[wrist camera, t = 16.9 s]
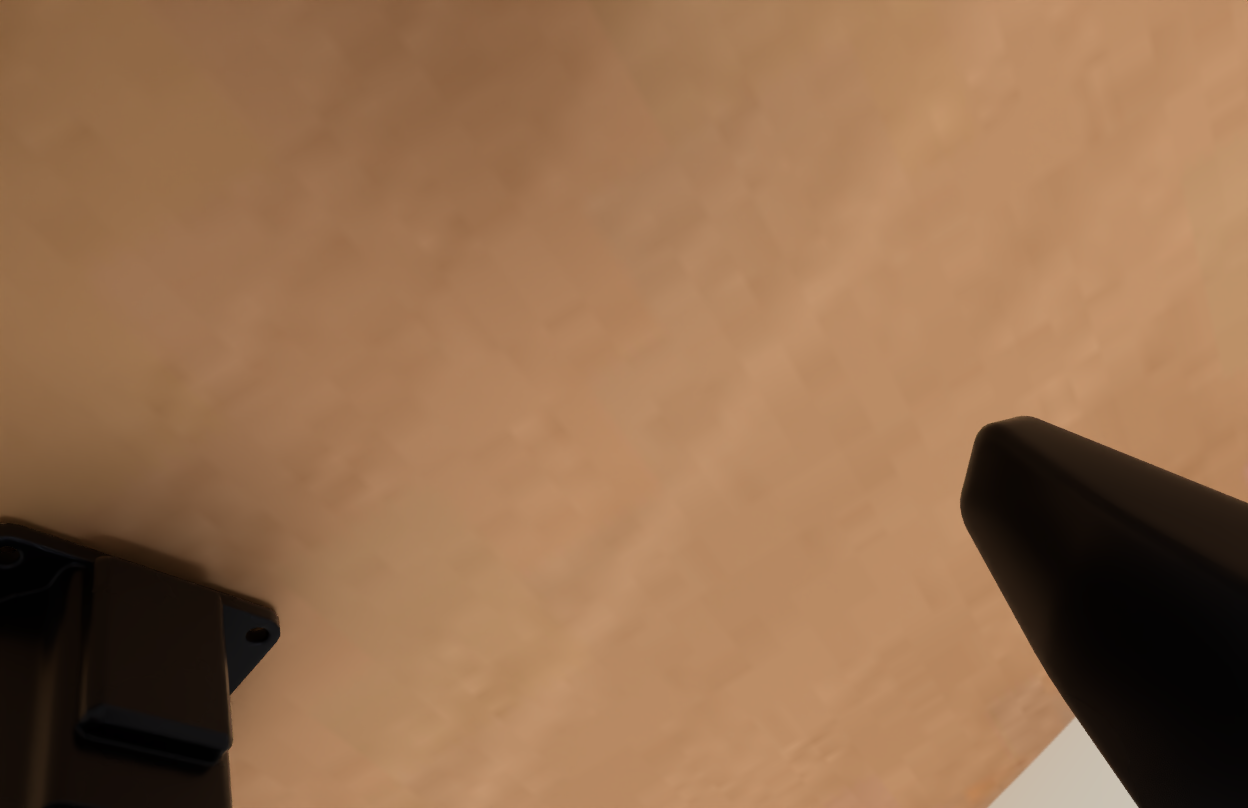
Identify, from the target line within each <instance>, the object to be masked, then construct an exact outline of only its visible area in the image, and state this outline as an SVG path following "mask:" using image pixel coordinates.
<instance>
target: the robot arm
mask: <svg viewBox="0 0 1248 808" xmlns="http://www.w3.org/2000/svg"><path fill="white" fill-rule="evenodd" d="M960 508H961V514H962V518H963V521H964V524H965V526H966V528H967V530H968V532H969V534H970V536H971V537H972V539H973V541H974V543H975V545H976V547H977V548H978V550H979V552H980V554H981V556H982V557H983V559H984V561H985V563H986V565H987V567H988V568H989V570H990V572H991V574H992V576H993V577H994V579H995V581H996V583H997V585H998V587H999V588H1000V590H1001V592H1002V594H1003V596H1004V597H1005V599H1006V601H1007V603H1008V605H1009V607H1010V608H1011V610H1012V612H1013V614H1014V616H1015V618H1016V619H1017V621H1018V623H1019V625H1020V627H1021V628H1022V630H1023V632H1024V634H1025V636H1026V638H1027V639H1028V641H1029V643H1030V645H1031V647H1032V648H1033V650H1034V652H1035V654H1036V655H1037V657H1038V659H1039V660H1040V662H1041V664H1042V666H1043V667H1044V669H1045V671H1046V672H1047V674H1048V676H1049V677H1050V679H1051V680H1052V682H1053V683H1054V685H1055V686H1056V688H1057V689H1058V691H1059V693H1060V694H1061V696H1062V697H1063V699H1064V700H1065V702H1066V703H1067V705H1068V706H1069V707H1070V709H1071V710H1072V712H1073V713H1074V715H1075V716H1076V718H1077V719H1078V720H1079V722H1080V723H1081V725H1082V726H1083V728H1084V729H1085V731H1086V732H1087V734H1088V735H1089V736H1090V738H1091V739H1092V741H1093V742H1094V743H1095V745H1096V746H1097V748H1098V749H1099V751H1100V752H1101V754H1102V755H1103V757H1104V758H1105V760H1106V761H1107V762H1108V764H1109V765H1110V767H1111V768H1112V770H1113V771H1114V773H1115V774H1116V775H1117V777H1118V778H1119V780H1120V781H1121V783H1122V784H1123V785H1124V787H1125V789H1126V790H1127V791H1128V793H1129V794H1130V796H1131V797H1132V799H1133V800H1134V802H1135V803H1136V804H1137V806H1138V807H1139V808H1248V503H1246V502H1244V501H1241V500H1239V499H1236V498H1234V497H1231V496H1229V495H1226V494H1224V493H1221V492H1219V491H1216V490H1214V489H1211V488H1209V487H1206V486H1204V485H1201V484H1199V483H1196V482H1194V481H1191V480H1189V479H1186V478H1184V477H1181V476H1179V475H1176V474H1174V473H1171V472H1169V471H1167V470H1164V469H1162V468H1159V467H1157V466H1154V465H1152V464H1149V463H1147V462H1144V461H1142V460H1139V459H1137V458H1134V457H1132V456H1129V455H1127V454H1124V453H1122V452H1119V451H1117V450H1114V449H1112V448H1109V447H1107V446H1104V445H1102V444H1099V443H1097V442H1094V441H1092V440H1090V439H1087V438H1085V437H1082V436H1080V435H1077V434H1075V433H1072V432H1070V431H1067V430H1065V429H1062V428H1060V427H1057V426H1055V425H1052V424H1050V423H1047V422H1045V421H1042V420H1040V419H1037V418H1034V417H1030V416H1019V417H1015V418H1011V419H1007V420H1002V421H998V422H994V423H990V424H987V425H986V426H984V427H983V428H982V429H981V430H980V431H979V432H978V434H977V436H976V438H975V441H974V445H973V449H972V453H971V457H970V461H969V465H968V469H967V473H966V477H965V481H964V484H963V488H962V492H961V498H960ZM4 546H6V547H13V548H14V549H16V551H14V552H9V553H7V552H0V808H232V796H231V782H230V768H229V753H228V750H229V749H230V747H231V746H232V743H233V732H232V719H231V706H230V695H231V694H232V693H233V691H234V690H235V689H236V688H237V687H238V686H239V684H240V683H241V682H242V681H243V680H244V679H245V678H246V676H247V675H248V674H249V673H250V672H251V671H252V670H253V668H254V667H255V666H256V665H257V664H258V663H259V662H260V660H261V659H262V658H263V657H264V656H265V655H266V653H267V652H268V651H269V650H270V649H271V648H272V647H273V645H274V644H275V643H276V642H277V640H278V639H279V637H280V625H279V618H278V616H277V614H276V613H275V611H273V610H271V609H269V608H267V607H264V606H261V605H258V604H255V603H252V602H249V601H246V600H243V599H240V598H237V597H234V596H231V595H228V594H225V593H222V592H219V591H216V590H213V589H210V588H207V587H204V586H201V585H198V584H195V583H192V582H189V581H186V580H183V579H180V578H177V577H174V576H171V575H168V574H165V573H162V572H159V571H156V570H153V569H150V568H147V567H144V566H141V565H138V564H135V563H132V562H129V561H126V560H123V559H120V558H117V557H114V556H111V555H108V554H105V553H102V552H99V551H96V550H93V549H90V548H87V547H84V546H81V545H78V544H75V543H72V542H69V541H66V540H63V539H60V538H57V537H54V536H51V535H48V534H45V533H42V532H39V531H36V530H33V529H30V528H27V527H24V526H21V525H16V524H11V523H6V524H0V547H4ZM257 627H260V628H263V629H261V630H257V631H251V629H253V628H257Z"/></svg>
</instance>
